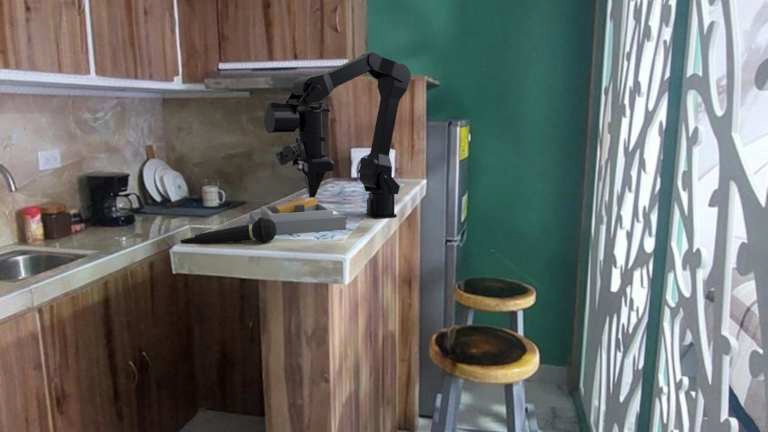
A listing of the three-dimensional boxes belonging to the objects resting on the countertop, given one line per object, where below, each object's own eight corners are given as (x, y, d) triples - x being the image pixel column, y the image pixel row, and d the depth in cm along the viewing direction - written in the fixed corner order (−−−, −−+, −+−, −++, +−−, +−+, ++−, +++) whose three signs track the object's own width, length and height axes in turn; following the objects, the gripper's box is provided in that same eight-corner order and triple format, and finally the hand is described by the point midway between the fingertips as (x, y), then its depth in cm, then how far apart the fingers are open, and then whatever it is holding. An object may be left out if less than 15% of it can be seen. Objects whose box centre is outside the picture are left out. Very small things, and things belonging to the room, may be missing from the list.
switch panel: (328, 218, 135) (328, 196, 134) (345, 229, 122) (345, 205, 121) (250, 224, 127) (248, 200, 126) (259, 236, 115) (258, 210, 113)
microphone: (181, 260, 108) (278, 247, 108) (173, 236, 105) (272, 223, 106) (187, 246, 112) (280, 233, 113) (180, 223, 109) (274, 210, 110)
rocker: (312, 200, 128) (310, 195, 127) (317, 204, 123) (316, 198, 123) (276, 211, 125) (275, 205, 124) (281, 215, 120) (279, 209, 120)
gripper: (268, 131, 127) (271, 194, 130) (284, 134, 110) (287, 206, 113) (312, 131, 131) (314, 192, 134) (334, 133, 115) (336, 203, 118)
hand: (312, 198), depth 125 cm, fingers closed, pressing on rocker
